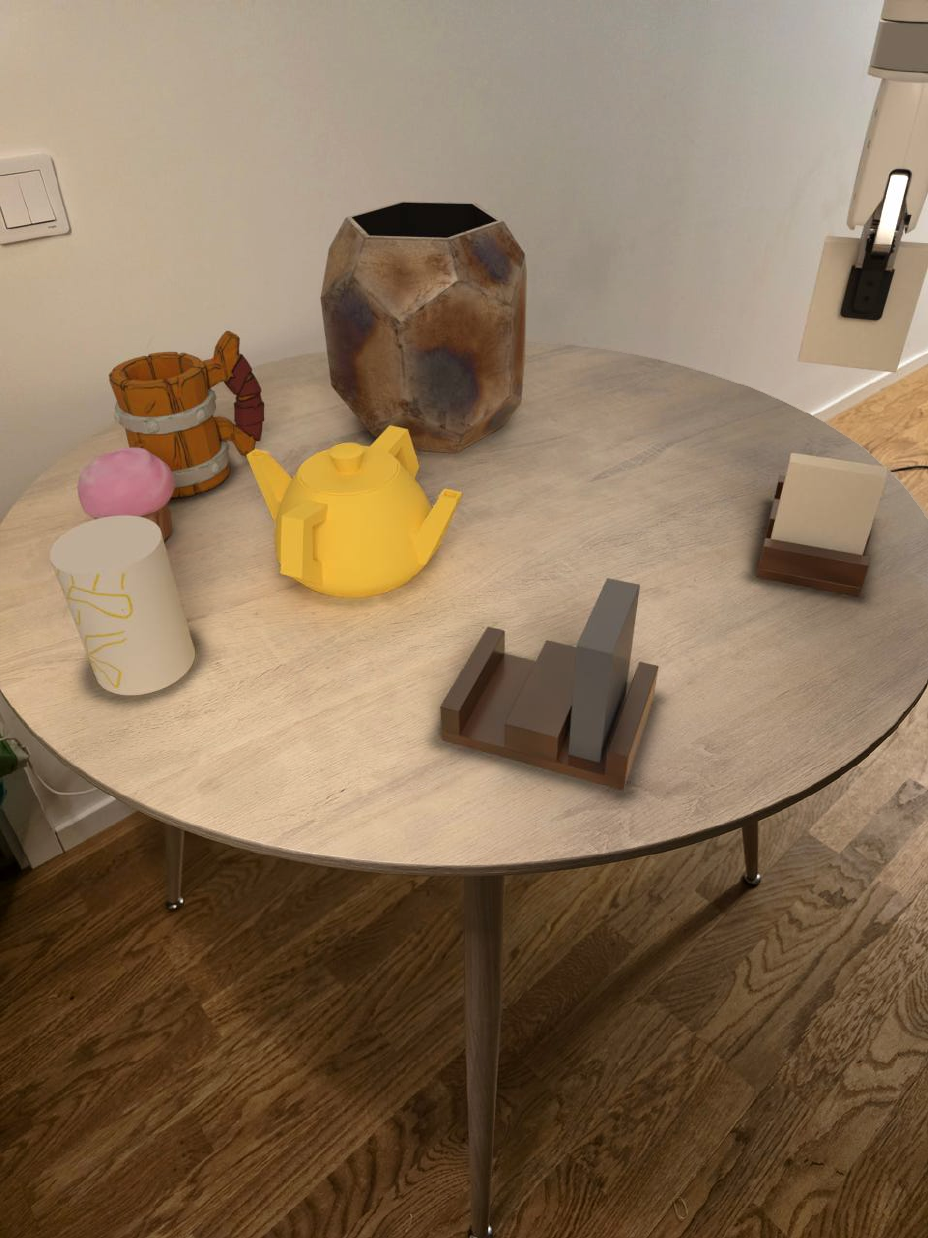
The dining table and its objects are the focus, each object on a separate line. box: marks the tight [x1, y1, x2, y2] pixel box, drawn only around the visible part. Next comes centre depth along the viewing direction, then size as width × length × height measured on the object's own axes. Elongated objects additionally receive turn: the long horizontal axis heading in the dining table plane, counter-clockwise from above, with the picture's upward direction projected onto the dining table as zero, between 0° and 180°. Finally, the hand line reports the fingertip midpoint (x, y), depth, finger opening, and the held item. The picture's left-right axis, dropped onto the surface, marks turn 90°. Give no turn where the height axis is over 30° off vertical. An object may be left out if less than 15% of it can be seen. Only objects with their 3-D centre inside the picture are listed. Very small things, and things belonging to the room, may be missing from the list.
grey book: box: [568, 577, 641, 763], centre depth 62 cm, size 2×8×10 cm, turn 158°
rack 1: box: [439, 626, 659, 791], centre depth 66 cm, size 14×10×4 cm
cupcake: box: [77, 447, 175, 541], centre depth 84 cm, size 9×9×10 cm
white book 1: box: [797, 235, 928, 373], centre depth 72 cm, size 2×8×10 cm, turn 69°
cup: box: [49, 515, 196, 696], centre depth 69 cm, size 8×8×12 cm
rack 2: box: [756, 474, 872, 598], centre depth 83 cm, size 9×14×4 cm, turn 158°
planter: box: [320, 200, 528, 454], centre depth 100 cm, size 22×24×24 cm
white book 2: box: [771, 452, 889, 555], centre depth 78 cm, size 8×2×10 cm, turn 68°
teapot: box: [246, 425, 463, 599], centre depth 81 cm, size 17×17×12 cm
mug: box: [108, 330, 265, 499], centre depth 95 cm, size 11×16×15 cm, turn 120°
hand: (860, 310), depth 72 cm, fingers closed on white book 1, 1 cm apart
